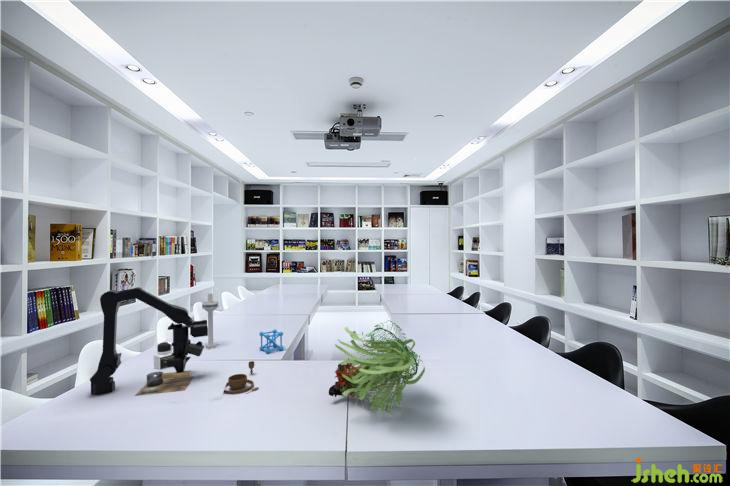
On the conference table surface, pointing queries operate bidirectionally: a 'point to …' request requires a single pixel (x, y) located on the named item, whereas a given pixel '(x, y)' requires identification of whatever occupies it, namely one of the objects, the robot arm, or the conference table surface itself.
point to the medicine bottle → (162, 355)
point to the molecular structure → (271, 341)
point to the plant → (377, 369)
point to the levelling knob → (164, 377)
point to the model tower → (210, 319)
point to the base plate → (167, 386)
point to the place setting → (240, 382)
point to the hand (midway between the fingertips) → (181, 376)
